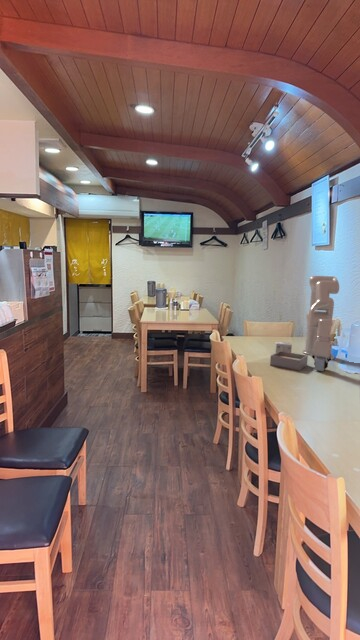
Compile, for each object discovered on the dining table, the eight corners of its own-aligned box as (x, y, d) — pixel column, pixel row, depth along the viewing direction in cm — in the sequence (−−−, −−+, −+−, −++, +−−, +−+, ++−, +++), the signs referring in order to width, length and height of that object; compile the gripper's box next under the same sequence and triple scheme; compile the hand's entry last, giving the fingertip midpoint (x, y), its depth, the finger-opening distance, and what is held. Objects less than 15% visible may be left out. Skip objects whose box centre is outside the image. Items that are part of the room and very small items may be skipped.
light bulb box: (289, 357, 262) (290, 342, 260) (291, 359, 255) (292, 344, 254) (273, 356, 263) (274, 341, 261) (275, 358, 256) (276, 343, 255)
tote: (279, 360, 253) (280, 350, 252) (307, 365, 242) (307, 355, 241) (270, 365, 239) (270, 355, 238) (298, 370, 229) (299, 360, 228)
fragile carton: (318, 366, 237) (319, 355, 235) (326, 367, 234) (327, 357, 233) (314, 369, 229) (315, 358, 228) (322, 371, 226) (323, 360, 225)
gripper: (339, 339, 227) (336, 368, 230) (311, 335, 236) (308, 363, 239) (336, 342, 220) (333, 371, 224) (307, 337, 230) (305, 366, 233)
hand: (320, 367), depth 231 cm, fingers closed on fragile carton, 5 cm apart
